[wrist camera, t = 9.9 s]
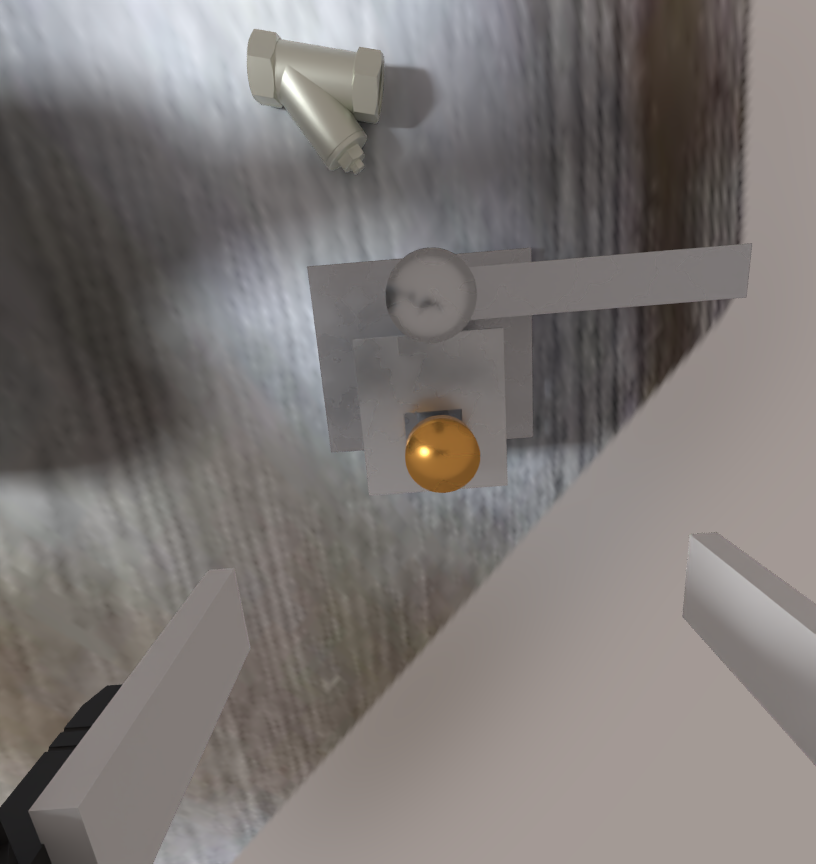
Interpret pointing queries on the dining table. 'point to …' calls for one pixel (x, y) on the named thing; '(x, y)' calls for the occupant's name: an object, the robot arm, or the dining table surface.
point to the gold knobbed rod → (441, 452)
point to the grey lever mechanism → (472, 338)
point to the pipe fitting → (319, 92)
